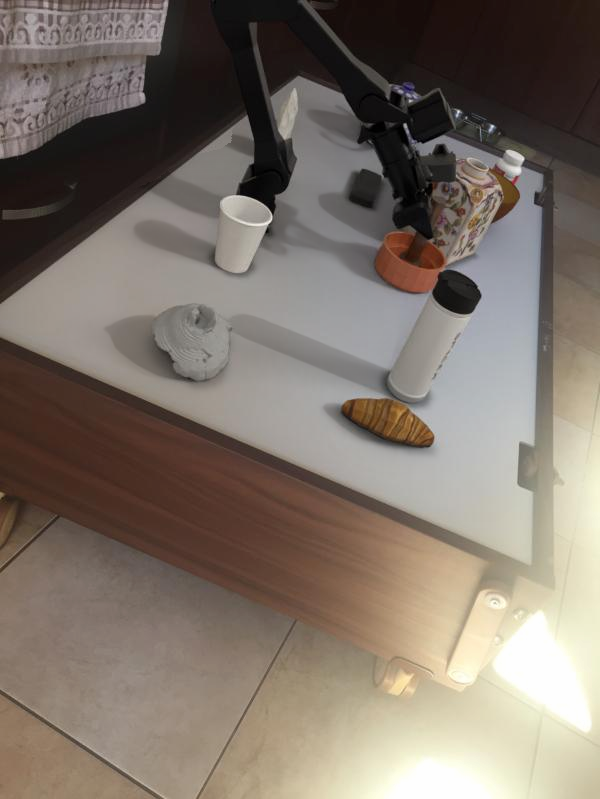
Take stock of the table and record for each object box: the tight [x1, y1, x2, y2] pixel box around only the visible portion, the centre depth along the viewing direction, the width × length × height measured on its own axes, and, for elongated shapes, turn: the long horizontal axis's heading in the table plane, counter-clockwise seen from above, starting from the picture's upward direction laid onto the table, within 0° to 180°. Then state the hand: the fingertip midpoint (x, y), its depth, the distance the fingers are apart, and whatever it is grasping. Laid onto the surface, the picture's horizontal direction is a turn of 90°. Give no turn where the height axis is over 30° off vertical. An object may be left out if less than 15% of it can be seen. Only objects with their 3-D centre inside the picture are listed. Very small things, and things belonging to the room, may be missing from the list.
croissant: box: [341, 397, 436, 448], centre depth 99 cm, size 14×7×5 cm, turn 77°
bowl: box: [456, 157, 521, 225], centre depth 155 cm, size 18×18×10 cm
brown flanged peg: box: [398, 196, 446, 268], centre depth 128 cm, size 4×4×13 cm
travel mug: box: [385, 268, 483, 404], centre depth 103 cm, size 6×7×20 cm
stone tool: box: [276, 87, 299, 140], centre depth 149 cm, size 8×3×15 cm, turn 156°
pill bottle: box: [492, 149, 525, 186], centre depth 170 cm, size 6×6×11 cm
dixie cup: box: [214, 194, 273, 274], centre depth 116 cm, size 8×8×10 cm
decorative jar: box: [402, 157, 504, 266], centre depth 141 cm, size 12×12×18 cm
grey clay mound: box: [150, 303, 234, 382], centre depth 97 cm, size 12×12×11 cm
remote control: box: [349, 168, 383, 208], centre depth 155 cm, size 5×2×15 cm
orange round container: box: [373, 230, 447, 294], centre depth 132 cm, size 12×12×6 cm
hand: (431, 234), depth 128 cm, fingers closed on brown flanged peg, 2 cm apart
